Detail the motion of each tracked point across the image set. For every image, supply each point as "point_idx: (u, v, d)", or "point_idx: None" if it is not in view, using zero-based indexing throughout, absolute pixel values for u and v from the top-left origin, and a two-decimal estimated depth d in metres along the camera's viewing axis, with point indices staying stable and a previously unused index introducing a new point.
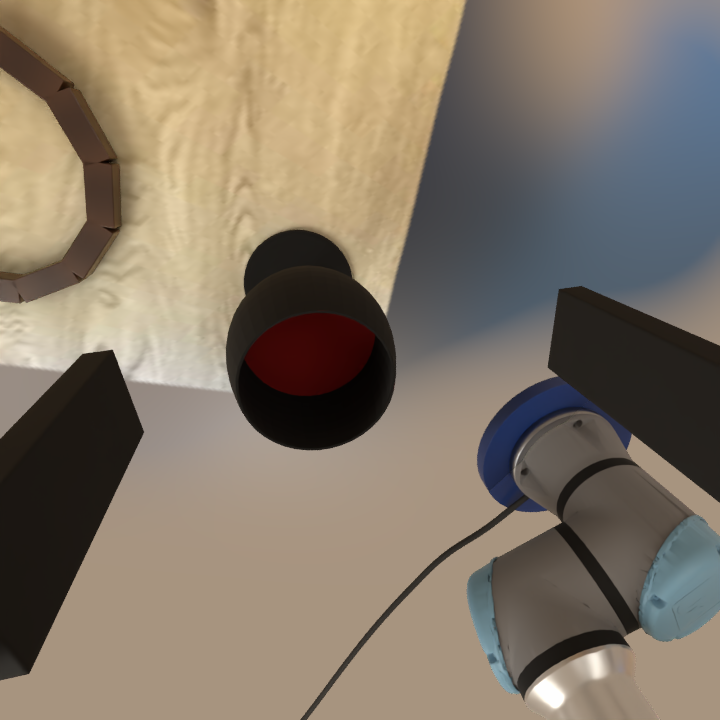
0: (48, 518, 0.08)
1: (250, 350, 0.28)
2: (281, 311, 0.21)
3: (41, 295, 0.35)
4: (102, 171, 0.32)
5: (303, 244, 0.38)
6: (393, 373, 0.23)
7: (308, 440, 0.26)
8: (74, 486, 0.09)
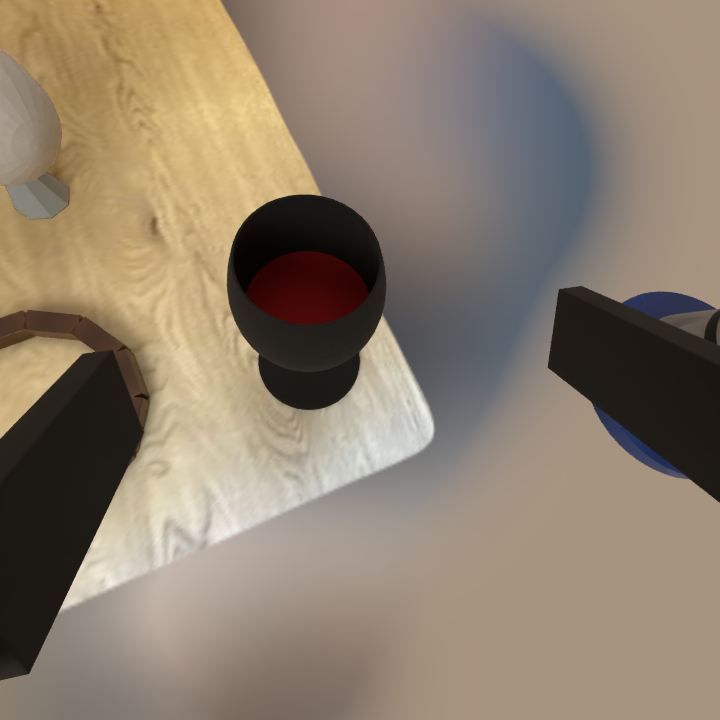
0: (48, 518, 0.08)
1: None
2: None
3: None
4: (121, 356, 0.39)
5: None
6: (361, 218, 0.25)
7: None
8: (74, 486, 0.09)
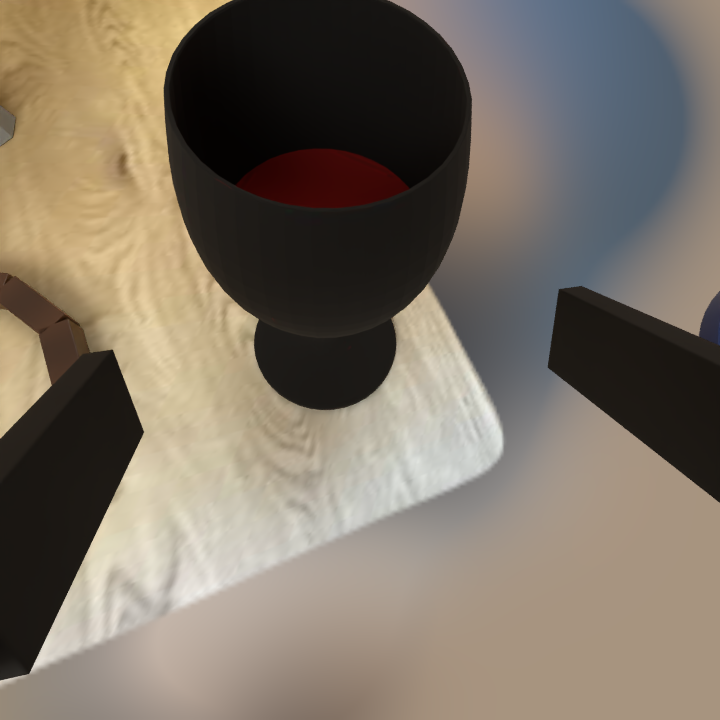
0: (48, 518, 0.08)
1: None
2: None
3: None
4: (59, 329, 0.28)
5: None
6: (427, 26, 0.13)
7: None
8: (73, 486, 0.09)
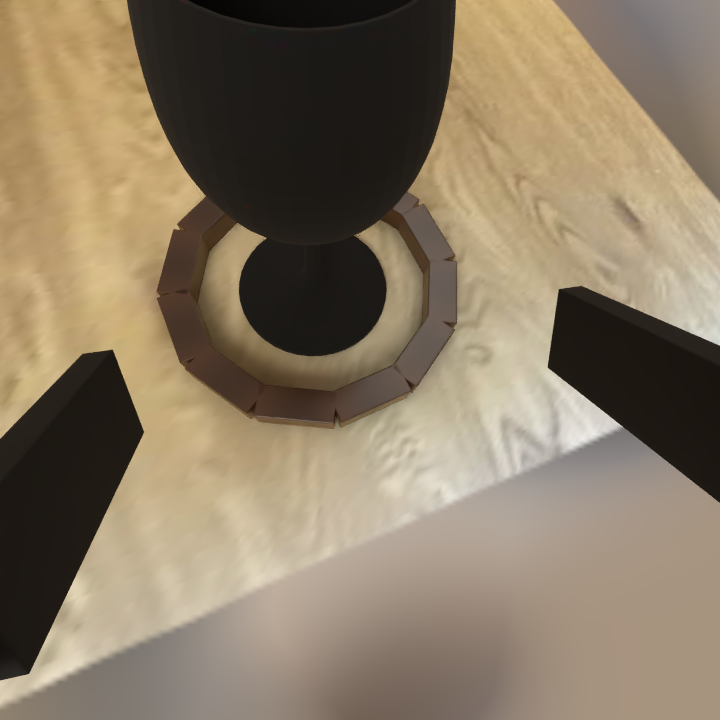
0: (48, 518, 0.08)
1: None
2: None
3: (427, 367, 0.27)
4: (419, 212, 0.30)
5: None
6: None
7: None
8: (73, 486, 0.09)
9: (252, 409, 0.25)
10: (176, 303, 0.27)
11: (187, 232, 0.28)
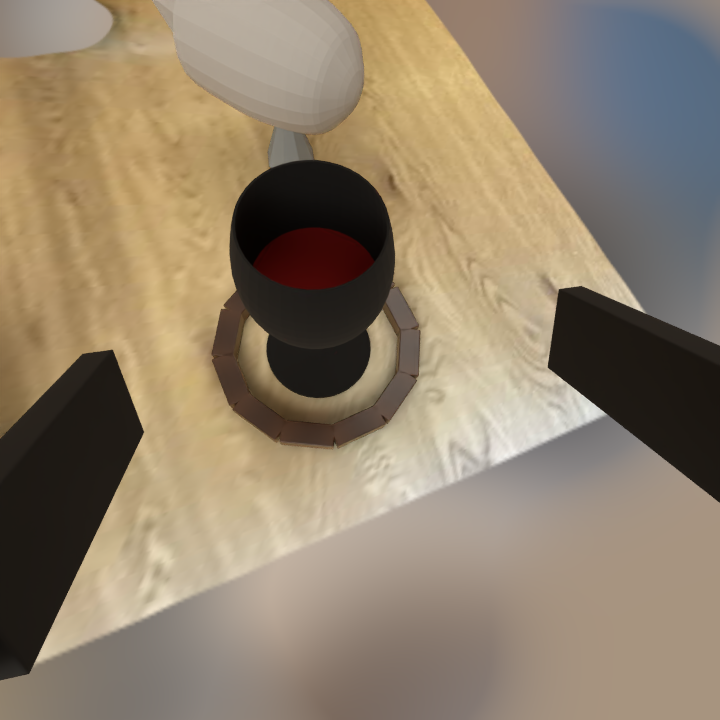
0: (48, 518, 0.08)
1: None
2: None
3: (397, 407, 0.39)
4: (394, 293, 0.43)
5: None
6: (368, 183, 0.24)
7: None
8: (74, 486, 0.09)
9: (278, 436, 0.38)
10: (225, 363, 0.39)
11: (230, 311, 0.41)
